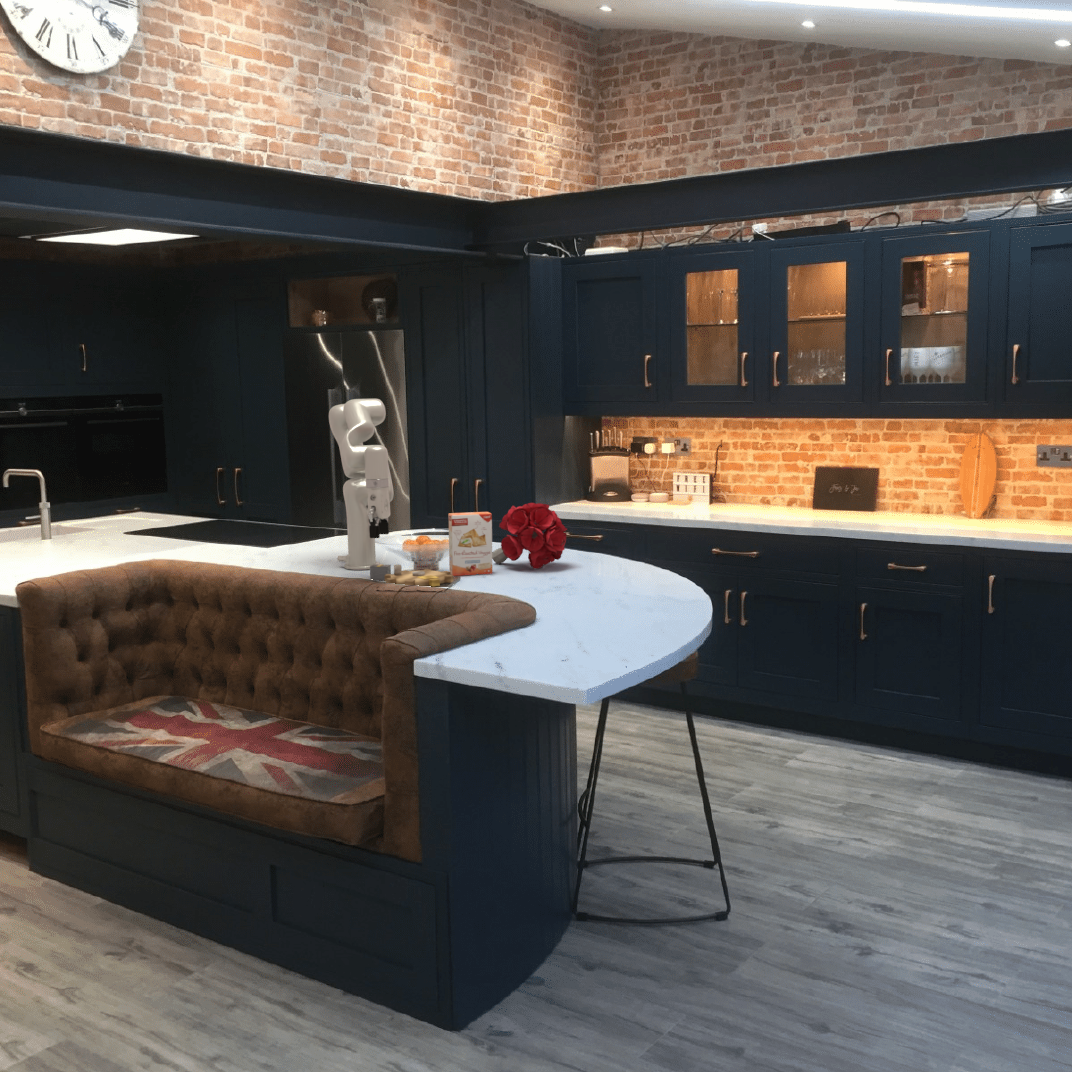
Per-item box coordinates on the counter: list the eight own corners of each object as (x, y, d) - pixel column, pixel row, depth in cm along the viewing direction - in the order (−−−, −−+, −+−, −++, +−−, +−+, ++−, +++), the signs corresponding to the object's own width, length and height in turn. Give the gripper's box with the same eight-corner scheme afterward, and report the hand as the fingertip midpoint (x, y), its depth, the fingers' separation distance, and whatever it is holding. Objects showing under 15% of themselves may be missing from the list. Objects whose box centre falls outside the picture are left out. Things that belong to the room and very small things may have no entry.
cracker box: (452, 576, 393) (451, 514, 390) (449, 573, 399) (447, 512, 396) (493, 574, 397) (492, 512, 394) (489, 571, 403) (488, 510, 400)
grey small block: (370, 581, 388) (369, 565, 387) (373, 579, 392) (373, 564, 391) (387, 581, 387) (387, 566, 386) (391, 579, 390) (390, 564, 390)
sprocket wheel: (375, 587, 370) (374, 570, 369) (396, 574, 391) (395, 559, 391) (443, 588, 366) (442, 571, 365) (460, 575, 387) (460, 560, 387)
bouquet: (488, 589, 406) (551, 551, 390) (463, 527, 411) (524, 488, 395) (526, 583, 423) (587, 548, 407) (501, 525, 429) (560, 487, 412)
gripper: (380, 486, 376) (382, 539, 378) (396, 482, 392) (398, 532, 395) (357, 486, 377) (359, 539, 379) (374, 482, 394) (376, 532, 396)
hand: (379, 536), depth 387 cm, fingers open, 9 cm apart
